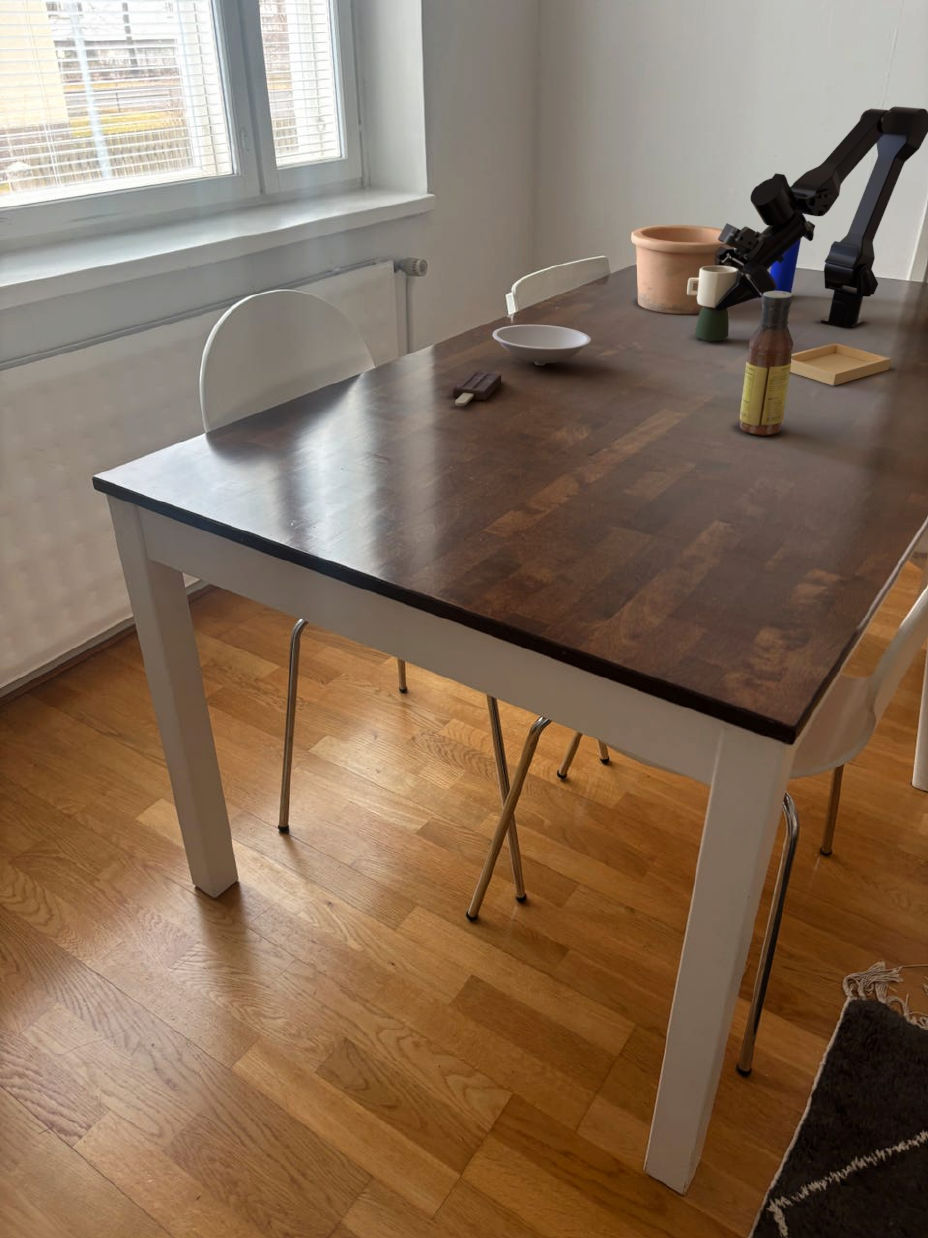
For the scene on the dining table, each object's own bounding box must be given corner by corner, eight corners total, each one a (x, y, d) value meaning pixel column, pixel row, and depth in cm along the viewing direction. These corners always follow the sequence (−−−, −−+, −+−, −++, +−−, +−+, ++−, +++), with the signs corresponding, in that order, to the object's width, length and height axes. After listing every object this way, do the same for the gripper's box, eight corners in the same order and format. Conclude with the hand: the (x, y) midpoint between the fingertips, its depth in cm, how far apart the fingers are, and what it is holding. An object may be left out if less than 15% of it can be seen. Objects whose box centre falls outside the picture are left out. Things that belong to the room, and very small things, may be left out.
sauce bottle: (781, 425, 145) (807, 290, 134) (779, 439, 140) (805, 300, 129) (737, 420, 146) (759, 286, 136) (733, 434, 141) (755, 296, 131)
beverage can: (787, 294, 214) (800, 223, 206) (792, 300, 210) (805, 227, 202) (764, 293, 214) (776, 222, 206) (768, 299, 210) (780, 226, 202)
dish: (478, 368, 167) (478, 340, 165) (510, 347, 178) (510, 320, 176) (573, 382, 161) (575, 353, 158) (600, 359, 172) (602, 331, 170)
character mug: (741, 336, 185) (750, 266, 178) (738, 346, 179) (748, 274, 172) (684, 333, 187) (691, 263, 181) (680, 342, 182) (687, 271, 175)
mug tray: (777, 368, 168) (779, 356, 167) (833, 353, 176) (835, 342, 175) (833, 385, 160) (835, 374, 159) (888, 369, 168) (891, 358, 167)
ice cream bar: (474, 411, 149) (502, 382, 161) (474, 400, 148) (502, 372, 160) (443, 407, 151) (473, 378, 163) (443, 397, 150) (473, 369, 162)
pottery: (652, 287, 219) (659, 220, 211) (744, 302, 208) (755, 232, 200) (607, 306, 204) (613, 235, 196) (703, 323, 193) (713, 248, 185)
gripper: (731, 199, 179) (667, 262, 183) (771, 216, 163) (700, 284, 168) (764, 243, 184) (701, 303, 188) (806, 263, 168) (735, 328, 173)
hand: (708, 303), depth 179 cm, fingers closed on character mug, 8 cm apart
